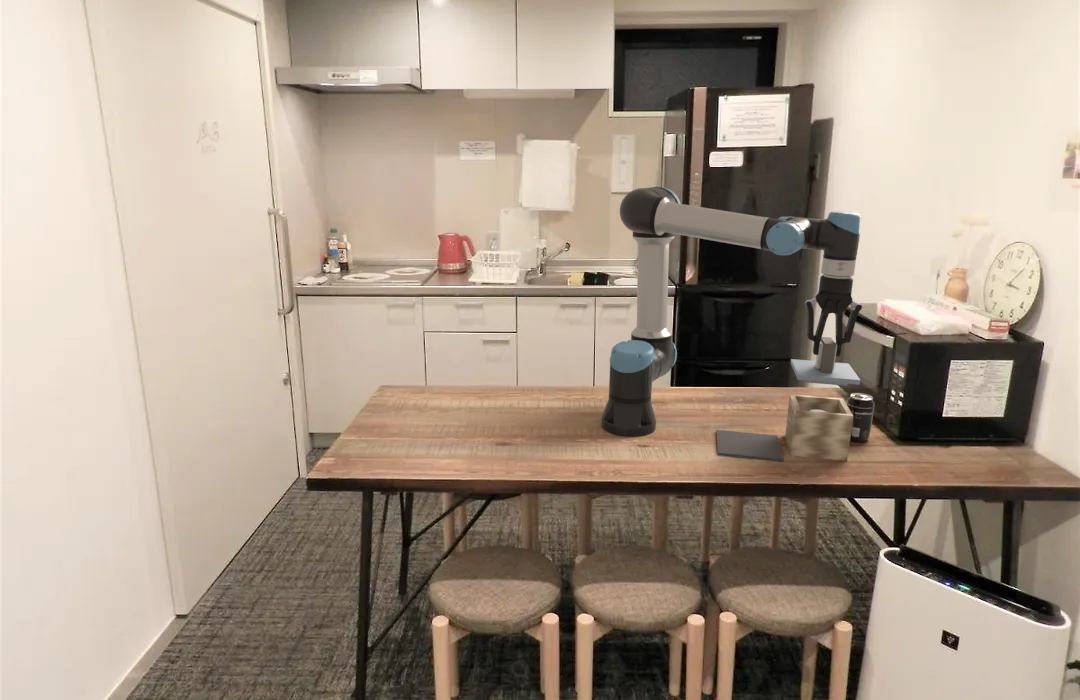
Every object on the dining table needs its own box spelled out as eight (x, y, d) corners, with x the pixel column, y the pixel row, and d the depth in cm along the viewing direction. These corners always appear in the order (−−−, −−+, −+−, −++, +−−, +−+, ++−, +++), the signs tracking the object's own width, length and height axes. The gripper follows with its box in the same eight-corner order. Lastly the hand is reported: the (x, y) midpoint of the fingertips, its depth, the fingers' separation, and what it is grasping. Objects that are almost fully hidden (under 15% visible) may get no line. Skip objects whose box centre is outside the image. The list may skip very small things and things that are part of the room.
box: (791, 455, 182) (796, 411, 179) (785, 435, 194) (789, 394, 191) (846, 460, 179) (853, 416, 176) (837, 440, 192) (842, 398, 189)
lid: (797, 384, 176) (802, 345, 174) (789, 367, 190) (794, 331, 187) (859, 389, 174) (865, 350, 171) (847, 372, 187) (852, 335, 184)
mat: (717, 454, 181) (718, 452, 181) (716, 431, 196) (716, 429, 196) (783, 461, 178) (783, 459, 178) (776, 437, 193) (777, 435, 193)
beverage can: (845, 431, 198) (851, 390, 195) (871, 437, 195) (877, 395, 191) (839, 438, 193) (845, 397, 190) (866, 445, 189) (872, 402, 186)
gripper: (805, 276, 173) (793, 369, 179) (874, 280, 170) (860, 374, 176) (801, 271, 180) (790, 361, 186) (867, 275, 177) (854, 366, 183)
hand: (824, 367), depth 181 cm, fingers closed on lid, 3 cm apart
